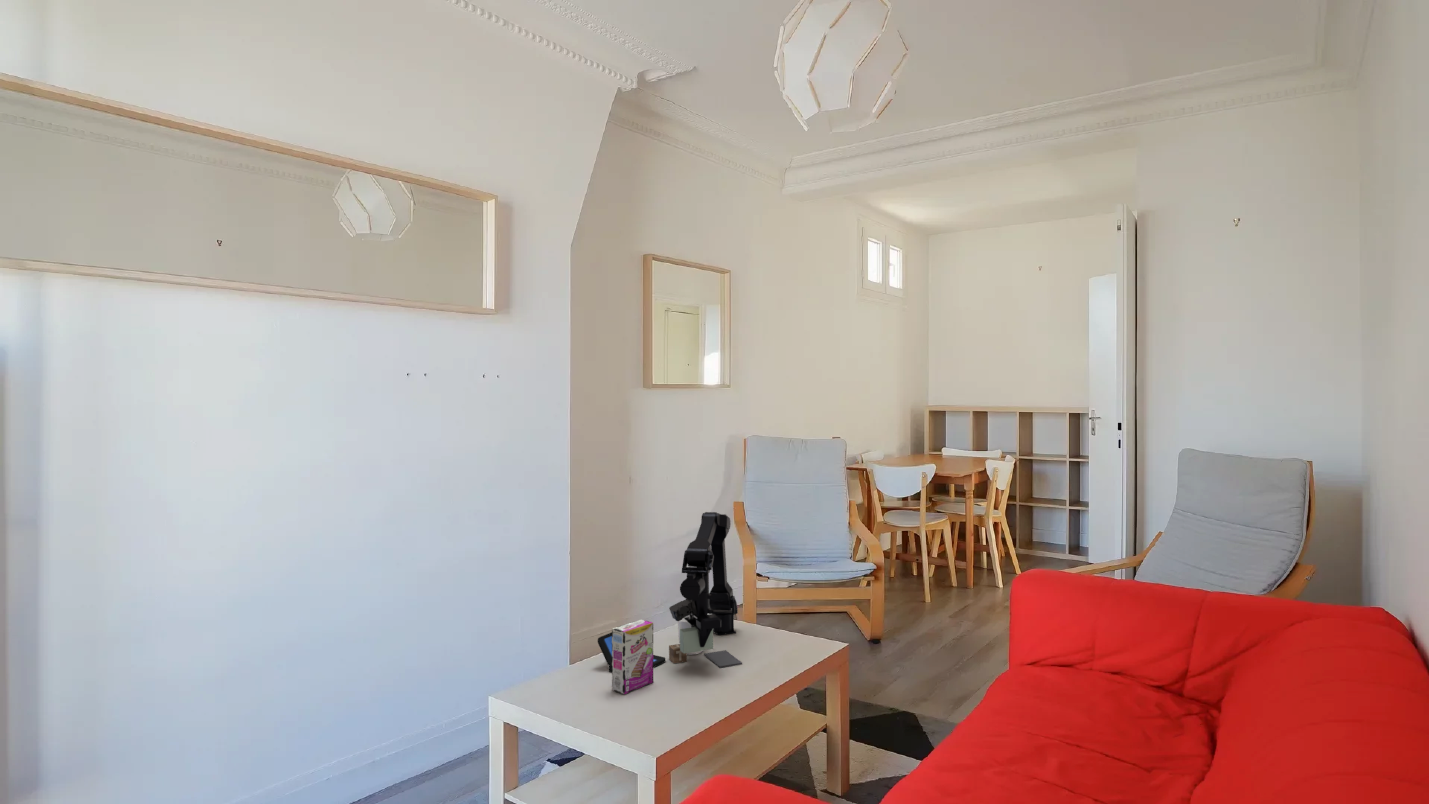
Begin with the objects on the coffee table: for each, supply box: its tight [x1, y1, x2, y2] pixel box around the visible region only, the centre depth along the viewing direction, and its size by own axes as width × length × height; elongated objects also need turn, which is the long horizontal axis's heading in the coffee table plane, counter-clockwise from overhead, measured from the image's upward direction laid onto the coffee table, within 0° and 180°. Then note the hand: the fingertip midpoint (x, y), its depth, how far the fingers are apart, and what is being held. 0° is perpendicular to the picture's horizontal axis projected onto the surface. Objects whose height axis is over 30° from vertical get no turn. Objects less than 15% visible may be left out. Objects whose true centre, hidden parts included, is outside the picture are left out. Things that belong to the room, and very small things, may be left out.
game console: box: [597, 631, 666, 673], centre depth 218 cm, size 16×14×9 cm
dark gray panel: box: [703, 649, 743, 669], centre depth 221 cm, size 7×12×1 cm, turn 22°
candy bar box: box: [611, 619, 654, 695], centre depth 201 cm, size 11×5×16 cm, turn 141°
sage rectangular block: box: [679, 627, 714, 653], centre depth 216 cm, size 9×3×6 cm, turn 112°
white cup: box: [677, 616, 703, 656], centre depth 229 cm, size 8×8×10 cm
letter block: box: [668, 643, 688, 664], centre depth 221 cm, size 4×4×4 cm
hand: (700, 645), depth 217 cm, fingers closed on sage rectangular block, 3 cm apart
